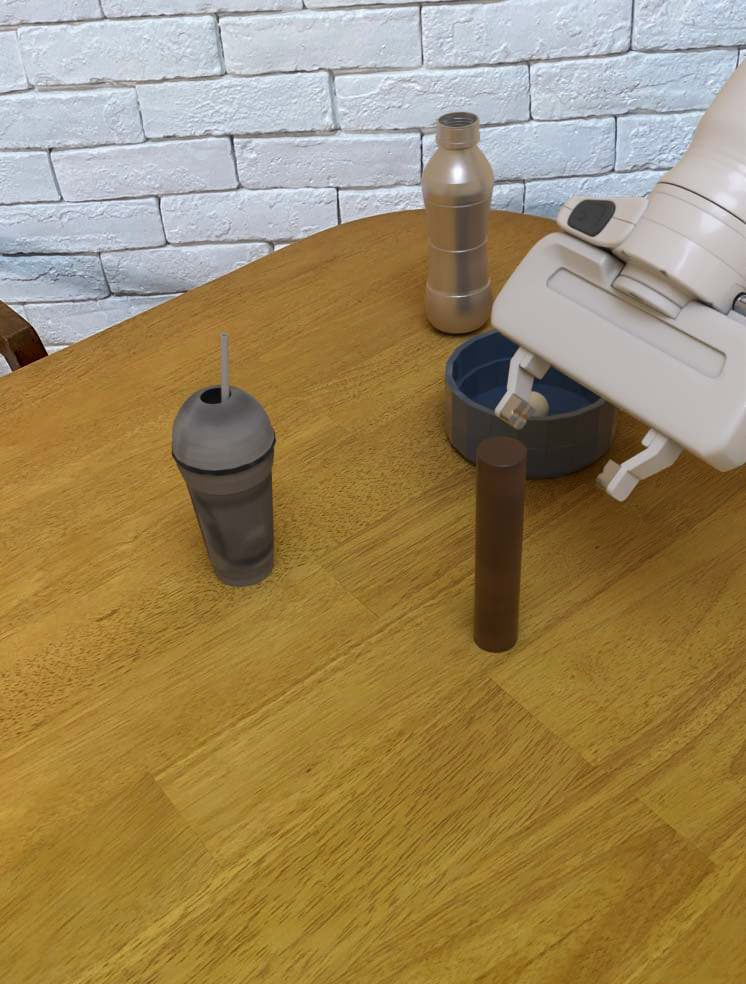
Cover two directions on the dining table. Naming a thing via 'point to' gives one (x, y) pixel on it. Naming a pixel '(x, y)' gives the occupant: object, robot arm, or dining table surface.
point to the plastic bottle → (458, 226)
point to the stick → (498, 541)
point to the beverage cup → (229, 476)
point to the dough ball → (538, 404)
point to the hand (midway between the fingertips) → (554, 456)
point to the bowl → (548, 439)
